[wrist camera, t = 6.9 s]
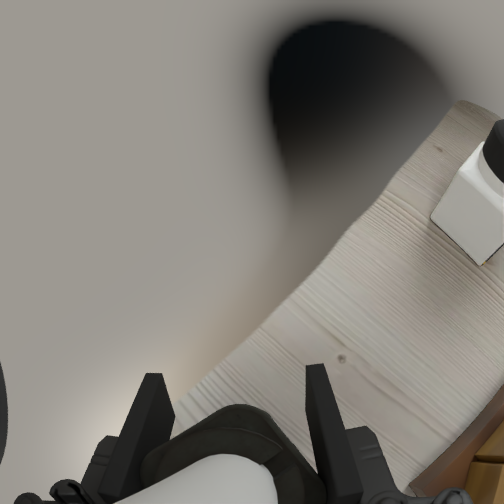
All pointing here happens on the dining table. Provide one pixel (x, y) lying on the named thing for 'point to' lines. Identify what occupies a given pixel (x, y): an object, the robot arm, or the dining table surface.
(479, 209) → the medicine bottle
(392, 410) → the dining table surface
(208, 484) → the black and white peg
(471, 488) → the stand
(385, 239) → the dining table surface
